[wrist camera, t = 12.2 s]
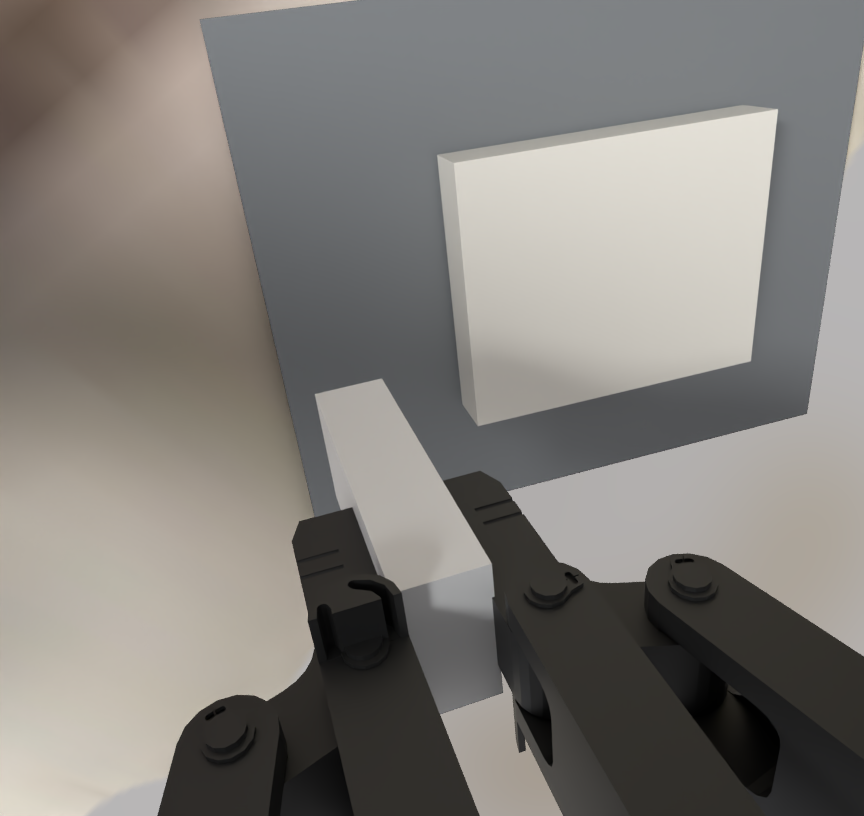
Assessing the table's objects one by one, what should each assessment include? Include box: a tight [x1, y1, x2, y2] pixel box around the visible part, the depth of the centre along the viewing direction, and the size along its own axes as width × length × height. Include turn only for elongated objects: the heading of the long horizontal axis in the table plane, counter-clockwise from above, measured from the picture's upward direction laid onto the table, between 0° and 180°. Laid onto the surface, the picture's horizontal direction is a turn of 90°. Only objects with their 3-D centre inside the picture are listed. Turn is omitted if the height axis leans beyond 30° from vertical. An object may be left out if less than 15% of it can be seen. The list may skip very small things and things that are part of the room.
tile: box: [437, 105, 778, 426], centre depth 26 cm, size 2×9×11 cm
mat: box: [200, 0, 864, 517], centre depth 26 cm, size 22×18×1 cm
